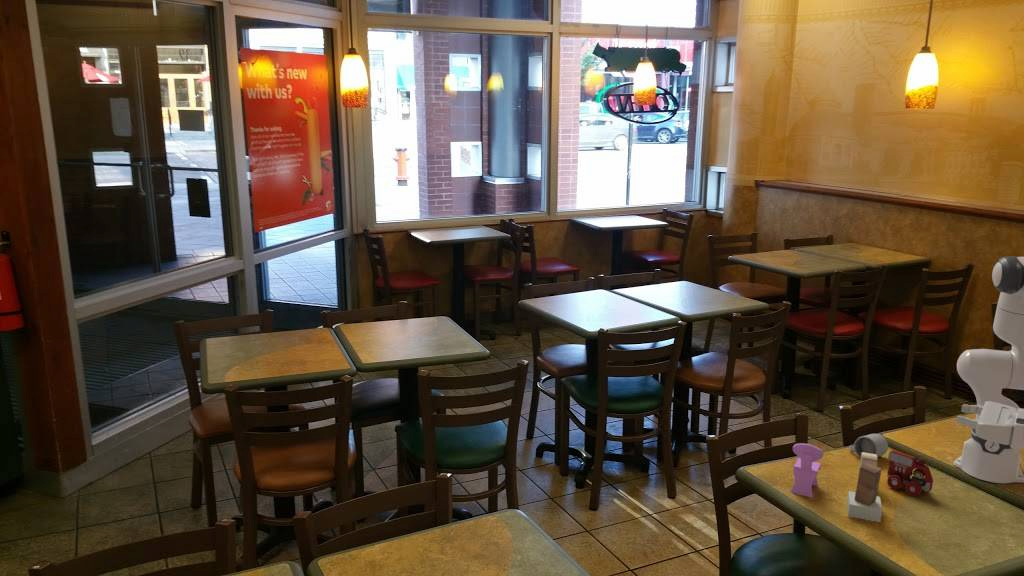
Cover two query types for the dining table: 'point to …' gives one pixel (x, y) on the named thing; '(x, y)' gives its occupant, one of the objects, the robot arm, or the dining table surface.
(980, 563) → the dining table surface
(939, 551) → the dining table surface
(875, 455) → the maple block
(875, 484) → the walnut block
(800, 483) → the toy chair
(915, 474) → the toy fire truck
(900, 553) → the dining table surface
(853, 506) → the pedestal block
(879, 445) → the ceramic mug
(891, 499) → the dining table surface
